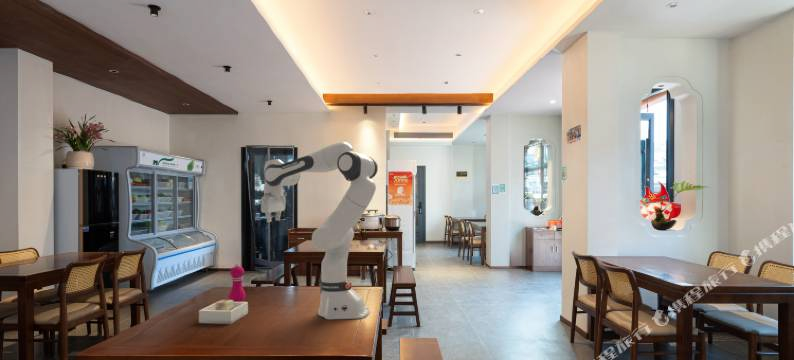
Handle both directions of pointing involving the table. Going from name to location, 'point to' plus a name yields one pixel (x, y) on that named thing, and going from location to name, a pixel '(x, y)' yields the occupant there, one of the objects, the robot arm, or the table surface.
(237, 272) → the pepper mill
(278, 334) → the table surface
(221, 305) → the birch block
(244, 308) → the serving bin
